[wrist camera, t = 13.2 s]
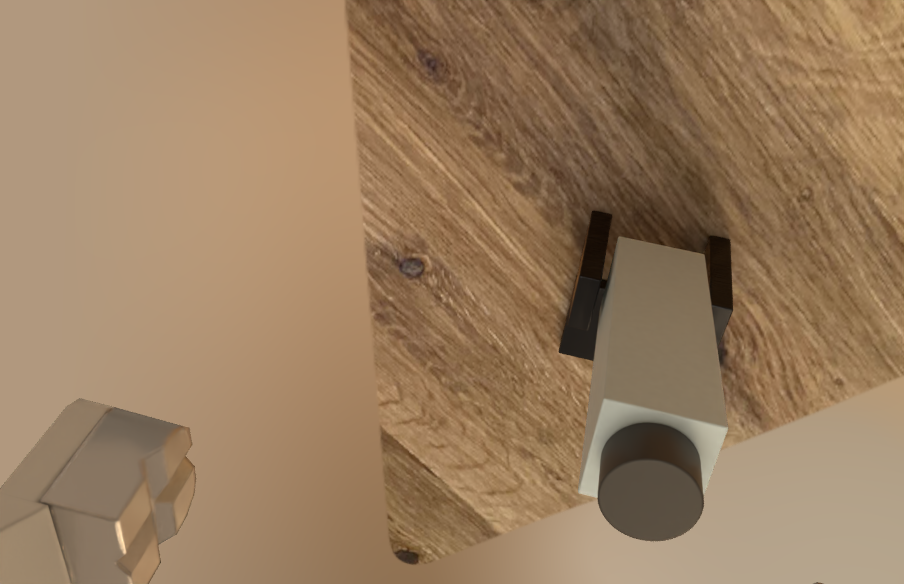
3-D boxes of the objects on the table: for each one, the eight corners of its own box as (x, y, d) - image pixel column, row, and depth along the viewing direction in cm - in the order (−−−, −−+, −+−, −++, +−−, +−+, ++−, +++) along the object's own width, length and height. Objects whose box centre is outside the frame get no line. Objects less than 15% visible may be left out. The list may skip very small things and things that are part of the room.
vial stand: (592, 210, 42) (579, 275, 38) (730, 239, 41) (733, 309, 37) (560, 343, 48) (545, 414, 43) (681, 371, 47) (678, 446, 43)
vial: (600, 434, 25) (572, 533, 27) (734, 466, 25) (697, 565, 27) (618, 235, 40) (599, 309, 41) (704, 253, 39) (681, 328, 41)
